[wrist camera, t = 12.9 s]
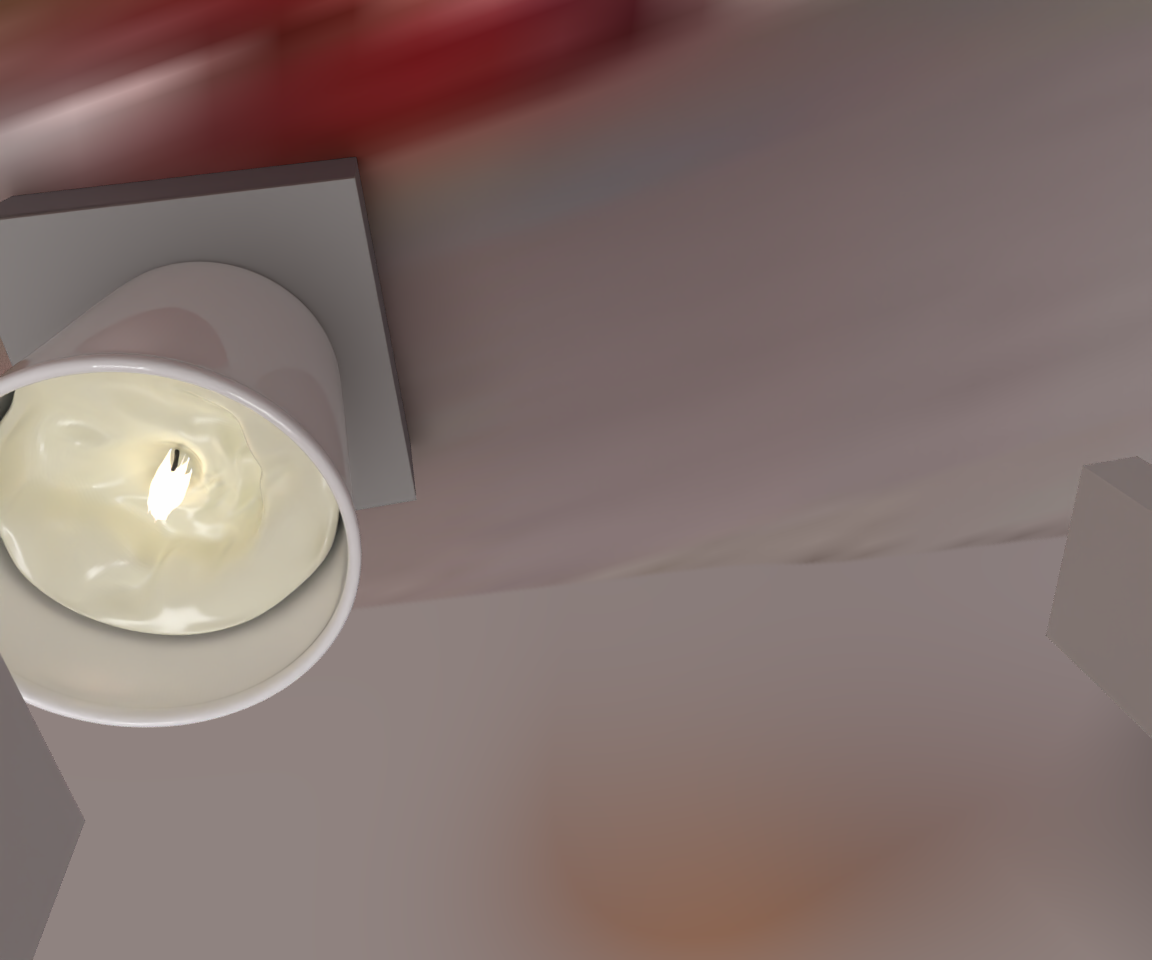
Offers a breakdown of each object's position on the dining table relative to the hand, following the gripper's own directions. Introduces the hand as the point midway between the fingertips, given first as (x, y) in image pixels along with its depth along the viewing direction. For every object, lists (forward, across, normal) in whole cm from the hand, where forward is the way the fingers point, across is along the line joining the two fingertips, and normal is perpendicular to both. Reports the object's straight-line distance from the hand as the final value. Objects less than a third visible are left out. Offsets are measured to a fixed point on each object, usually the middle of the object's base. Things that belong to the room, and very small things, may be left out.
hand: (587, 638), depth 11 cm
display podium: (+27, -9, -4) cm, 29 cm away
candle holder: (+22, -9, -4) cm, 24 cm away
